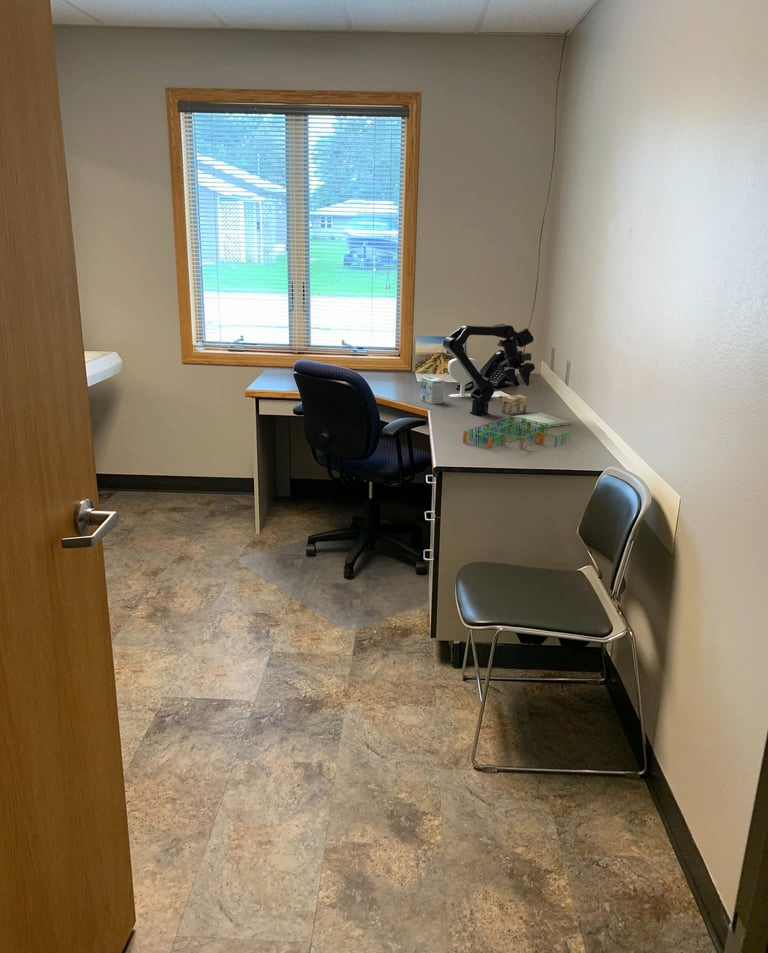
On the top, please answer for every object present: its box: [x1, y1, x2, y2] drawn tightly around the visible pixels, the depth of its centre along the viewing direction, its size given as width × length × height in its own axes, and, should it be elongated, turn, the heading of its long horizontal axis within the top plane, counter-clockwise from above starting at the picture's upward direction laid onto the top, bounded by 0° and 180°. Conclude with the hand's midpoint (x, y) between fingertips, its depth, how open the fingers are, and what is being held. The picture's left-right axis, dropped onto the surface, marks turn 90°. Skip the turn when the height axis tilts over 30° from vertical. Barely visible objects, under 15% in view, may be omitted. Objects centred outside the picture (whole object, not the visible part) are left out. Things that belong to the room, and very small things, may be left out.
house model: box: [462, 415, 572, 449], centre depth 286 cm, size 35×30×5 cm
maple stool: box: [501, 394, 529, 416], centre depth 331 cm, size 10×6×7 cm, turn 120°
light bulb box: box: [419, 375, 445, 405], centre depth 348 cm, size 11×7×11 cm, turn 27°
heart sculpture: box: [447, 357, 481, 398], centre depth 361 cm, size 16×5×18 cm, turn 105°
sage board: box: [508, 412, 571, 428], centre depth 317 cm, size 18×18×1 cm
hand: (520, 384), depth 330 cm, fingers open, 9 cm apart
